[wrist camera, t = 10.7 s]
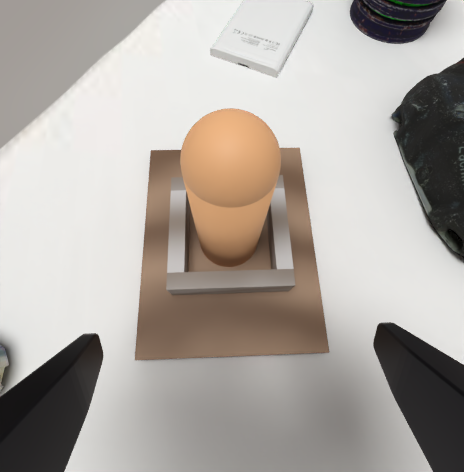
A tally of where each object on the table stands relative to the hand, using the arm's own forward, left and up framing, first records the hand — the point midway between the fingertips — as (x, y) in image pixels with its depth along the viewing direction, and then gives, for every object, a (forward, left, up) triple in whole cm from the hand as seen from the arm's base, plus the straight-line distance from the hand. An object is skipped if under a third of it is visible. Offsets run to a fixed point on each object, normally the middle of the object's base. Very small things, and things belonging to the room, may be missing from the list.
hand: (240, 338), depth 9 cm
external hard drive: (+16, -31, -14) cm, 38 cm away
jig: (+5, -7, -13) cm, 16 cm away
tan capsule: (+5, -6, -12) cm, 15 cm away
